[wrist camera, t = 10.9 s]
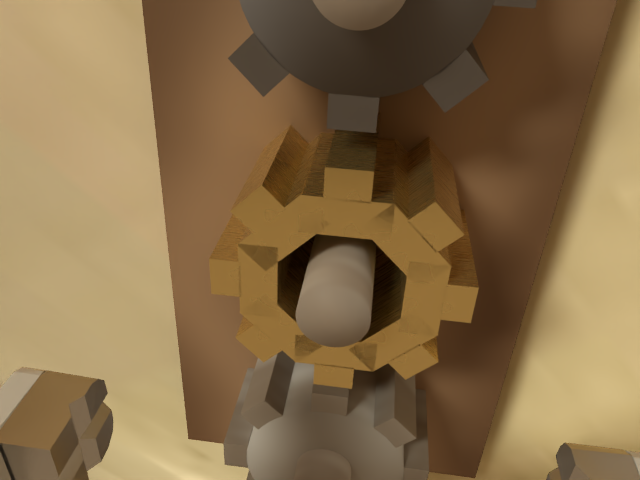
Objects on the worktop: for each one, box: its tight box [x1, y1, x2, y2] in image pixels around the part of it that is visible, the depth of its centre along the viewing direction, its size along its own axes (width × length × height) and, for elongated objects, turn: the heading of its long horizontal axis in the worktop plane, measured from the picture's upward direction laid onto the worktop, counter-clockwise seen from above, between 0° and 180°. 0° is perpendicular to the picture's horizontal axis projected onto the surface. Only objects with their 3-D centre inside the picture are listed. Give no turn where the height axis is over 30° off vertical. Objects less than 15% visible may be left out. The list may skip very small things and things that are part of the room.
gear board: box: [142, 0, 617, 480], centre depth 17 cm, size 12×23×6 cm, turn 177°
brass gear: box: [209, 112, 479, 389], centre depth 16 cm, size 7×7×4 cm
